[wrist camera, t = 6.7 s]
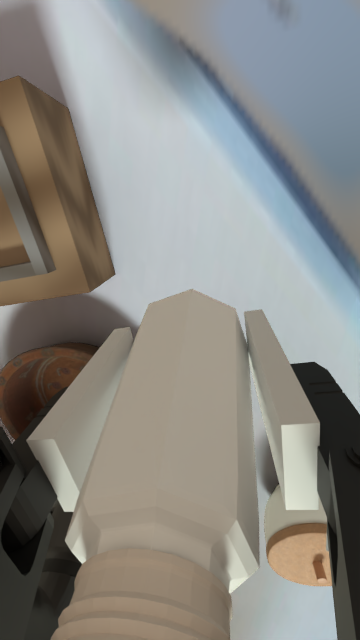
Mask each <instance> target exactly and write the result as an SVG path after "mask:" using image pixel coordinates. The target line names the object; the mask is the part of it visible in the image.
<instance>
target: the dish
mask: <svg viewBox="0 0 360 640" xmlns="http://www.w3.org/2000/svg"><path fill="white" fill-rule="evenodd" d="M98 349H99V347H96V346H92V345H88V344H84V343H64V344H58V345H54V346H50V347H43V348H38V349H34V350H30V351H27V352H25V353H22V354H20V355H18V356H17V357H15V358H14V359H12V360H11V361H10V362H8V363H7V365H6V366H5V367H4V368H3V369H2V371H1V373H0V418H1V420H2V422H3V424H4V425H5V426H6V428H7V429H8V431H9V432H10V434H11V436H12V437H13V438H14V439H15V440H16V439H17V438H18V437H19V436H20V435H21V433H22V432H23V431H24V430H25V429H26V427H27V426H28V425H29V424H30V423H31V421H32V420H33V419H34V418H36V417H37V414H38V413H39V412H40V411H41V410H42V409H44V406H45V405H46V404H47V402H48V401H49V400H50V399H51V398H52V396H54V395H55V394H56V393H58V392H59V391H60V390H62V389H63V388H64V387H69V386H70V385H71V383H72V382H73V381H74V380H75V378H76V377H77V376H78V375H79V373H80V372H81V371H82V370H83V368H84V367H85V366H86V365H87V363H88V362H89V361H90V359H91V358H92V357H93V356H94V354H95V353H96V352H97V351H98Z"/></svg>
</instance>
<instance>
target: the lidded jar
mask: <svg viewBox="0 0 360 640" xmlns="http://www.w3.org/2000/svg"><path fill="white" fill-rule="evenodd" d="M264 532H265V540H266V553H267V559H268V563H269V565H270V566H271V568H272V569H273V570H274V571H275V572H276V573H277V574H278V575H280V576H282V577H283V578H285V579H287V580H290V581H292V582H295V583H299V584H303V585H310V586H332V578H331V568H330V558H329V551H327V550H326V535H327V516H326V513H325V511H324V508H323V505H322V503H321V500H320V498H319V510H286V508H285V504H284V500H283V496H282V492H281V488H280V484H278V485H277V486H276V488H275V490H274V492H273V493H272V494H271V496H270V497H269V499H268V501H267V504H266V508H265V515H264Z"/></svg>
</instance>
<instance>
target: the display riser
mask: <svg viewBox="0 0 360 640" xmlns="http://www.w3.org/2000/svg"><path fill="white" fill-rule="evenodd" d="M114 275H115V272H114V268H113V265H112V261H111V257H110V254H109V250H108V247H107V243H106V240H105V236H104V233H103V229H102V226H101V222H100V219H99V215H98V212H97V208H96V205H95V201H94V198H93V194H92V191H91V187H90V184H89V180H88V177H87V173H86V170H85V166H84V163H83V159H82V156H81V152H80V148H79V145H78V141H77V138H76V134H75V131H74V127H73V124H72V120H71V117H70V113H69V110H68V108H67V107H65V106H64V105H62V104H61V103H59V102H58V101H56V100H55V99H53V98H52V97H50V96H49V95H47V94H46V93H44V92H43V91H41V90H40V89H38V88H37V87H35V86H34V85H32V84H31V83H29V82H28V81H26V80H25V79H23V78H22V77H20V76H16V77H13V78H10V79H7V80H4V81H1V82H0V306H5V305H12V304H18V303H24V302H31V301H37V300H43V299H50V298H56V297H63V296H69V295H75V294H82V293H88V292H91V291H93V290H94V289H95V288H97V287H98V286H100V285H101V284H102V283H104V282H105V281H107V280H108V279H110V278H111V277H112V276H114Z"/></svg>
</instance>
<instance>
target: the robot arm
mask: <svg viewBox="0 0 360 640" xmlns="http://www.w3.org/2000/svg"><path fill="white" fill-rule="evenodd" d="M244 316H245V325H246V335H247V345H248V351H249V365H250V369H251V373H252V377H253V381H254V385H255V389H256V393H257V397H258V401H259V405H260V409H261V413H262V417H263V421H264V425H265V429H266V433H267V437H268V441H269V445H270V448H271V452H272V456H273V460H274V464H275V468H276V472H277V476H278V480H279V484H280V488H281V492H282V496H283V500H284V504H285V508H286V510H319V498H320V500H321V503H322V505H323V508H324V511H325V513H326V516H327V535H326V550H327V551H329V558H330V568H331V578H332V588H333V598H334V608H335V618H336V628H337V638H338V640H360V414H359V413H358V411H357V410H356V409H355V407H354V406H353V405H352V403H351V402H350V400H349V399H348V398H347V396H346V395H345V394H344V393H343V392H342V389H341V388H340V387H339V385H338V384H337V383H336V381H335V380H334V378H333V377H332V376H331V374H330V373H329V371H328V370H326V369H325V368H323V367H322V366H320V365H318V364H317V363H315V362H308V363H297V364H290V363H289V361H288V359H287V357H286V355H285V354H284V352H283V350H282V348H281V346H280V344H279V342H278V340H277V338H276V336H275V334H274V332H273V330H272V328H271V326H270V324H269V322H268V320H267V318H266V316H265V314H264V312H263V311H262V310H254V311H247V312H244ZM133 342H134V340H133V337H132V333H131V330H130V327H126V328H118V329H114V330H113V332H112V333H111V334H110V336H109V337H108V338H107V339H106V341H105V342H104V343H103V344H102V346H101V347H100V348H99V349H98V351H97V352H96V353H95V354H94V356H93V357H92V358H91V359H90V361H89V362H88V363H87V365H86V366H85V367H84V368H83V370H82V371H81V372H80V373H79V375H78V376H77V377H76V378H75V380H74V381H73V382H72V383H71V385H70V386H69V387H64V388H63V389H62V390H60V391H59V392H58V393H56V394H55V395H54V396H52V398H51V399H50V400H49V401H48V402H47V404H46V405H45V406H44V409H42V410H41V411H40V412H39V413H38V414H37V417H36V418H34V419H33V420H32V421H31V423H30V424H29V425H28V426H27V427H26V429H25V430H24V431H23V432H22V433H21V435H20V436H19V437H18V438H17V439H16V440H15V442H14V443H13V444H11V442H10V440H9V438H8V437H7V435H6V433H5V431H4V430H3V428H2V427H0V640H51V637H52V635H53V634H54V632H55V630H56V629H58V628H59V624H58V618H59V617H60V615H61V613H62V611H63V610H64V609H65V608H67V607H68V606H69V605H70V602H71V599H72V596H73V594H74V591H75V588H74V581H75V578H76V576H77V573H78V571H79V569H80V567H81V565H82V563H81V562H80V561H79V560H78V559H77V557H76V556H75V555H74V554H73V553H72V552H71V550H70V548H69V547H68V545H67V544H66V542H65V538H66V535H67V532H68V528H69V525H70V522H71V519H72V515H73V512H74V509H75V506H76V502H77V499H78V496H79V494H80V491H81V488H82V485H83V482H84V480H85V477H86V474H87V471H88V468H89V465H90V463H91V460H92V457H93V454H94V451H95V449H96V446H97V443H98V440H99V437H100V435H101V432H102V429H103V426H104V423H105V421H106V418H107V415H108V412H109V409H110V406H111V404H112V401H113V398H114V395H115V392H116V390H117V387H118V384H119V381H120V378H121V376H122V373H123V370H124V367H125V364H126V362H127V359H128V356H129V353H130V350H131V348H132V345H133Z"/></svg>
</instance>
